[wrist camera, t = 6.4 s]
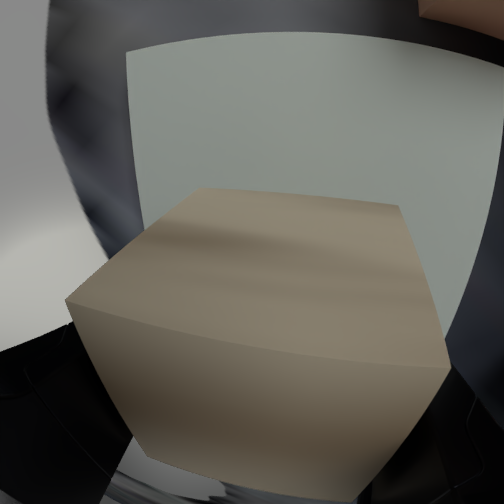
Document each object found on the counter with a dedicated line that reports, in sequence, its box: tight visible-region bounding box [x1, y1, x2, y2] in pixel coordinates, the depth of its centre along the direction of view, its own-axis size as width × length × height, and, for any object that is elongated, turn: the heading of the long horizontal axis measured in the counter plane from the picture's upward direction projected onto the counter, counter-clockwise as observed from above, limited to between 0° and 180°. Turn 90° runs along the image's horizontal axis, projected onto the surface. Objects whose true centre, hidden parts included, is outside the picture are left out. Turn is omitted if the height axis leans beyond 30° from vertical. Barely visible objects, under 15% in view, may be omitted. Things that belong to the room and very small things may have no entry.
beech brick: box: [65, 188, 451, 502], centre depth 7 cm, size 5×5×5 cm
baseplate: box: [126, 32, 504, 339], centre depth 12 cm, size 14×14×2 cm
